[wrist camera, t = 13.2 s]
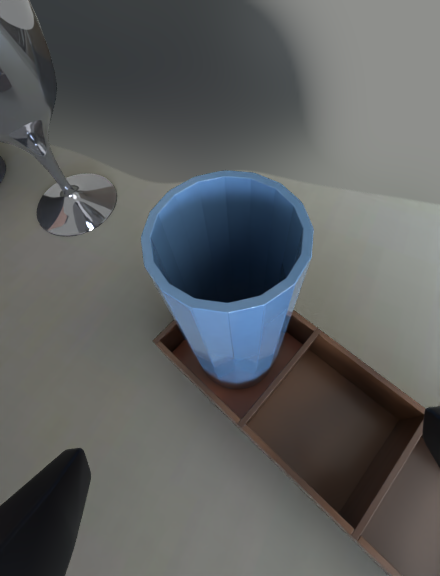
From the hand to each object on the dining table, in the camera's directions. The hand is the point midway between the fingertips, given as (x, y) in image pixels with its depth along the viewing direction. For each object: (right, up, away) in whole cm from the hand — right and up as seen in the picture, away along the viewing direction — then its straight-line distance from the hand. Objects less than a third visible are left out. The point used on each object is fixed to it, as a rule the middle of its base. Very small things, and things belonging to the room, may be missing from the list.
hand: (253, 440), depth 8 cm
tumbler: (0, 0, +12) cm, 12 cm away
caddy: (+5, -4, +10) cm, 12 cm away
